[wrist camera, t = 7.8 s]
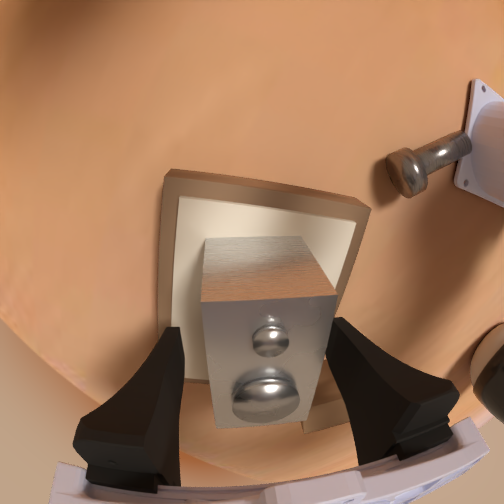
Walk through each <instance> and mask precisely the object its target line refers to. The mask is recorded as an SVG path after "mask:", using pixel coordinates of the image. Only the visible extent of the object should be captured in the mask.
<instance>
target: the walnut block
mask: <svg viewBox="0 0 504 504" xmlns="http://www.w3.org/2000/svg"><path fill="white" fill-rule="evenodd" d="M347 422H350V420H349V416H348V413H347V409H346V406H345V403H344V401H343V398H342V396H341V393H340V391H339V389H338V386H337V384H336V382H335V380H334V377H333V375H332V372H331V370H330V368H329V365H328V362H327V360H323V364H322V368H321V372H320V375H319V379H318V383H317V387H316V390H315V394H314V397H313V401H312V404H311V408H310V411H309V414H308V418H307V420H306V421H301V425H302V429H303V432H304V434H307V433H311V432H315V431H319V430H322V429H326V428H330V427H333V426H337V425H340V424H344V423H347Z"/></svg>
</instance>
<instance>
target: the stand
mask: <svg viewBox="0 0 504 504" xmlns="http://www.w3.org/2000/svg"><path fill="white" fill-rule="evenodd" d="M370 212H371V208H370V207H368V206H367V205H365V204H364V203H362V202H361V201H359V200H358V199H356V198H354V197H349V196H345V195H340V194H335V193H330V192H325V191H320V190H314V189H309V188H304V187H298V186H293V185H287V184H281V183H275V182H269V181H263V180H256V179H249V178H243V177H236V176H228V175H221V174H213V173H205V172H197V171H188V170H179V169H171V170H170V171H169V172H168V173H167V174H166V175H165V176H164V185H163V196H162V209H161V223H160V240H159V262H158V340H159V339H160V337H161V335H162V333H163V332H164V330H165V328H166V327H180V332H181V337H182V343H183V349H184V354H185V377H184V382H190V383H201V384H210V381H209V374H208V365H207V357H206V348H205V339H204V330H203V320H202V310H201V291H202V276H203V263H204V251H205V239H206V238H222V237H259V236H301V237H302V239H303V240H304V242H305V243H306V245H307V246H308V248H309V249H310V251H311V252H312V254H313V255H314V257H315V259H316V260H317V262H318V263H319V265H320V266H321V268H322V270H323V271H324V273H325V274H326V276H327V277H328V279H329V281H330V282H331V284H332V285H333V287H334V289H335V290H336V292H337V294H338V298H337V303H336V308H335V312H334V317H335V314H336V312H337V309H338V307H339V304H340V301H341V299H342V296H343V293H344V291H345V288H346V285H347V283H348V280H349V277H350V274H351V271H352V268H353V265H354V263H355V260H356V257H357V254H358V251H359V248H360V244H361V241H362V238H363V235H364V232H365V229H366V225H367V222H368V219H369V215H370ZM334 317H333V318H334Z"/></svg>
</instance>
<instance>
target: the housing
mask: <svg viewBox="0 0 504 504" xmlns="http://www.w3.org/2000/svg"><path fill="white" fill-rule="evenodd" d="M337 298H338V294H337V292H336V290H335V289H334V287H333V285H332V284H331V282H330V281H329V279H328V277H327V276H326V274H325V273H324V271H323V270H322V268H321V266H320V265H319V263H318V262H317V260H316V259H315V257H314V255H313V254H312V252H311V251H310V249H309V248H308V246H307V245H306V243H305V242H304V240H303V239H302V237H301V236H259V237H222V238H206V239H205V251H204V263H203V276H202V291H201V310H202V320H203V330H204V339H205V348H206V357H207V365H208V374H209V381H210V389H211V396H212V404H213V411H214V417H215V424H216V428H239V427H254V426H265V425H275V424H284V423H292V422H299V421H306V420H307V418H308V414H309V411H310V408H311V404H312V401H313V397H314V394H315V390H316V387H317V383H318V379H319V375H320V372H321V368H322V364H323V360H324V356H325V352H326V348H327V344H328V339H329V335H330V331H331V326H332V322H333V317H334V312H335V308H336V303H337Z"/></svg>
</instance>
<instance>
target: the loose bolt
mask: <svg viewBox="0 0 504 504" xmlns="http://www.w3.org/2000/svg"><path fill="white" fill-rule="evenodd" d="M471 152H472V143H471V140H470V138H469V136H468V135H467V134H466V133H465V132H463V131H461V130H459V131H457V132H454V133H452V134H450V135H447V136H445V137H443V138H441V139H439V140H436V141H434V142H432V143H430V144H427V145H425V146H423V147H421V148H418V149H416V150H414V151H412V150H411V149H409V148H402V149H400V150H398V151H395V152H393V153H391V154H389V155H388V156H387V158H386V166H387V171H388V174H389V176H390V179H391V181H392V183H393V185H394V186H395V188H396V189H397V190H398V192H399V193H400V194H401V195H402V196H404V197H405V198H412V197H413V196H415V195H417V194H419V193H421V192H423V191H425V190H426V188H427V185H428V178H427V175H429V174H431V173H433V172H435V171H437V170H439V169H441V168H443V167H445V166H447V165H449V164H451V163H452V162H454V161H456V160H458V159H460V158H462V157H464V156H466V155H468V154H470V153H471Z"/></svg>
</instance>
